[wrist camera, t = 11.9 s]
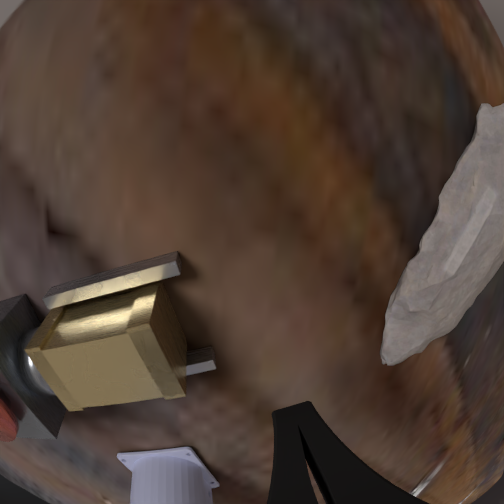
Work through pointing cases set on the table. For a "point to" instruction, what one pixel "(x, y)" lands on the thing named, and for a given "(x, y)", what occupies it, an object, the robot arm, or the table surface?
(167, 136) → the table surface
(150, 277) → the valve
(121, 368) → the gold flanged block
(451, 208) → the stone tool
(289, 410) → the robot arm
